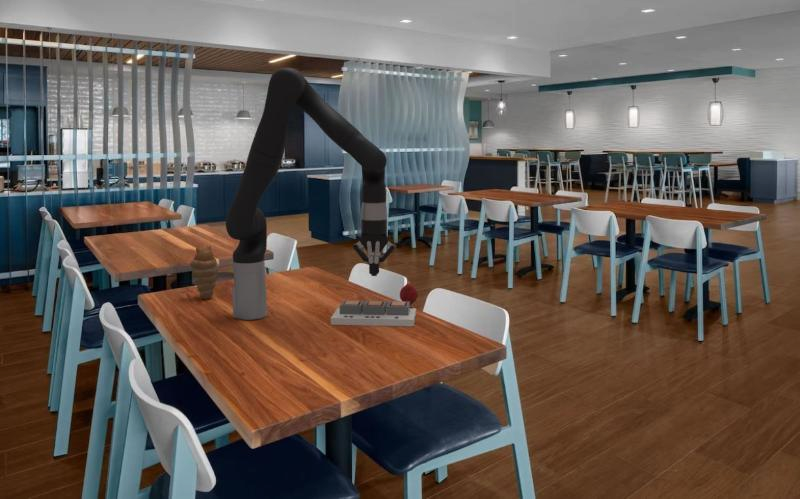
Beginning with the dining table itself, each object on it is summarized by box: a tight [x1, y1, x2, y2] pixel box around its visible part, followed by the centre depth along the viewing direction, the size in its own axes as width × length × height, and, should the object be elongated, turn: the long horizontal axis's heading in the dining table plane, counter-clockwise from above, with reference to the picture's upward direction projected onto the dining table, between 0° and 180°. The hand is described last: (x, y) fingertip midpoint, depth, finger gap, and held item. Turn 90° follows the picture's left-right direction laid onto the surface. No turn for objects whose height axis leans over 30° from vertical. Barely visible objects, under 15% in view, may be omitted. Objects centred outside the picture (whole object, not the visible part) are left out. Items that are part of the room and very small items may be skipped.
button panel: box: [330, 299, 417, 327], centre depth 179 cm, size 24×12×4 cm, turn 85°
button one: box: [391, 302, 406, 306], centre depth 180 cm, size 4×4×2 cm
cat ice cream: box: [190, 245, 219, 300], centre depth 203 cm, size 9×8×18 cm
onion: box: [399, 281, 419, 306], centre depth 194 cm, size 6×6×8 cm
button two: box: [344, 300, 361, 306], centre depth 181 cm, size 4×4×2 cm
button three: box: [368, 300, 384, 306], centre depth 180 cm, size 4×4×2 cm
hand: (374, 275), depth 179 cm, fingers closed
